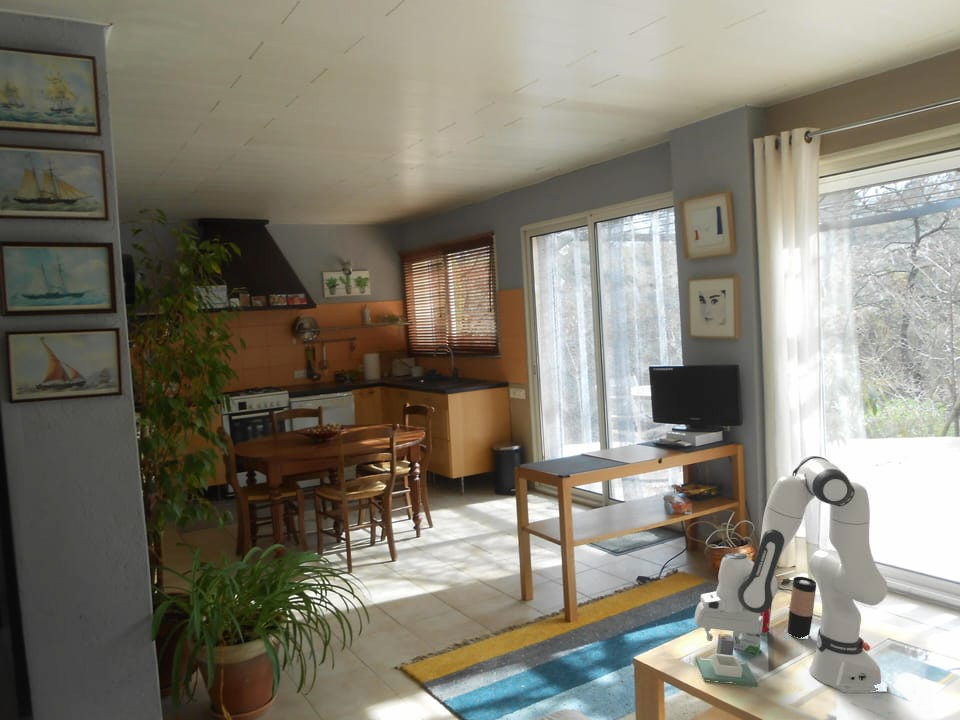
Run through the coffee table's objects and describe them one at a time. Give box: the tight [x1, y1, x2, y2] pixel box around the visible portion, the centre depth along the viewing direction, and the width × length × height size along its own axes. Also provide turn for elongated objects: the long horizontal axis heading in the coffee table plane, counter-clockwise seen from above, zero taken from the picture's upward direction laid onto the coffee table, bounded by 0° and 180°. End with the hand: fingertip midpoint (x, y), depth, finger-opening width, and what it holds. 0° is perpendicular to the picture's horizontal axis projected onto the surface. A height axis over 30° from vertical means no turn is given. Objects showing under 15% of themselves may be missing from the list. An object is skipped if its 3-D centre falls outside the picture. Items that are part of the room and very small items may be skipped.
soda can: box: [760, 603, 773, 635], centre depth 264 cm, size 7×7×13 cm
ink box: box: [732, 616, 763, 655], centre depth 251 cm, size 9×5×12 cm, turn 60°
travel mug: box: [787, 576, 817, 638], centre depth 263 cm, size 8×8×20 cm
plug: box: [716, 633, 735, 656], centre depth 244 cm, size 4×4×8 cm
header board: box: [695, 653, 758, 687], centre depth 234 cm, size 16×12×4 cm
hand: (723, 641), depth 243 cm, fingers open, 8 cm apart
